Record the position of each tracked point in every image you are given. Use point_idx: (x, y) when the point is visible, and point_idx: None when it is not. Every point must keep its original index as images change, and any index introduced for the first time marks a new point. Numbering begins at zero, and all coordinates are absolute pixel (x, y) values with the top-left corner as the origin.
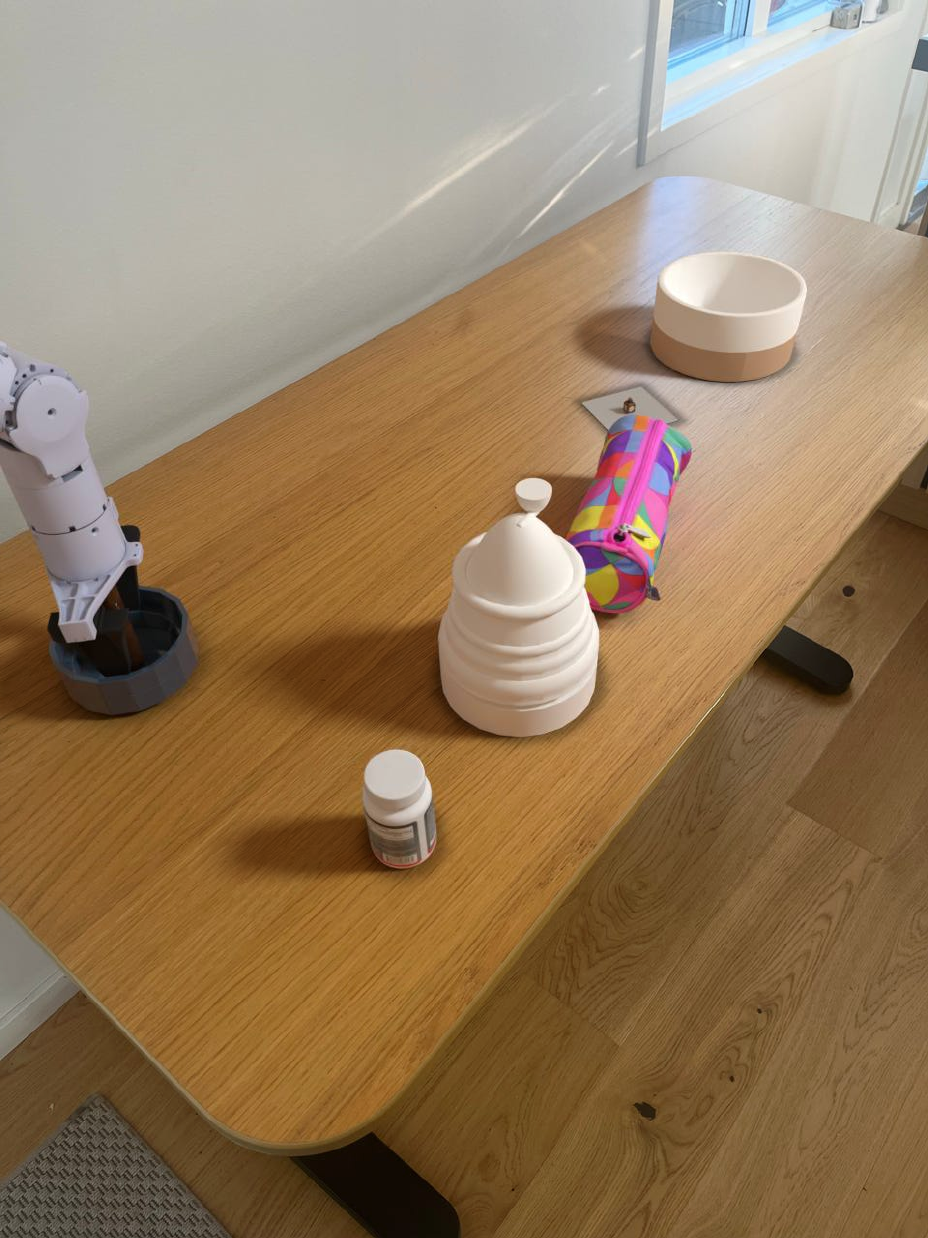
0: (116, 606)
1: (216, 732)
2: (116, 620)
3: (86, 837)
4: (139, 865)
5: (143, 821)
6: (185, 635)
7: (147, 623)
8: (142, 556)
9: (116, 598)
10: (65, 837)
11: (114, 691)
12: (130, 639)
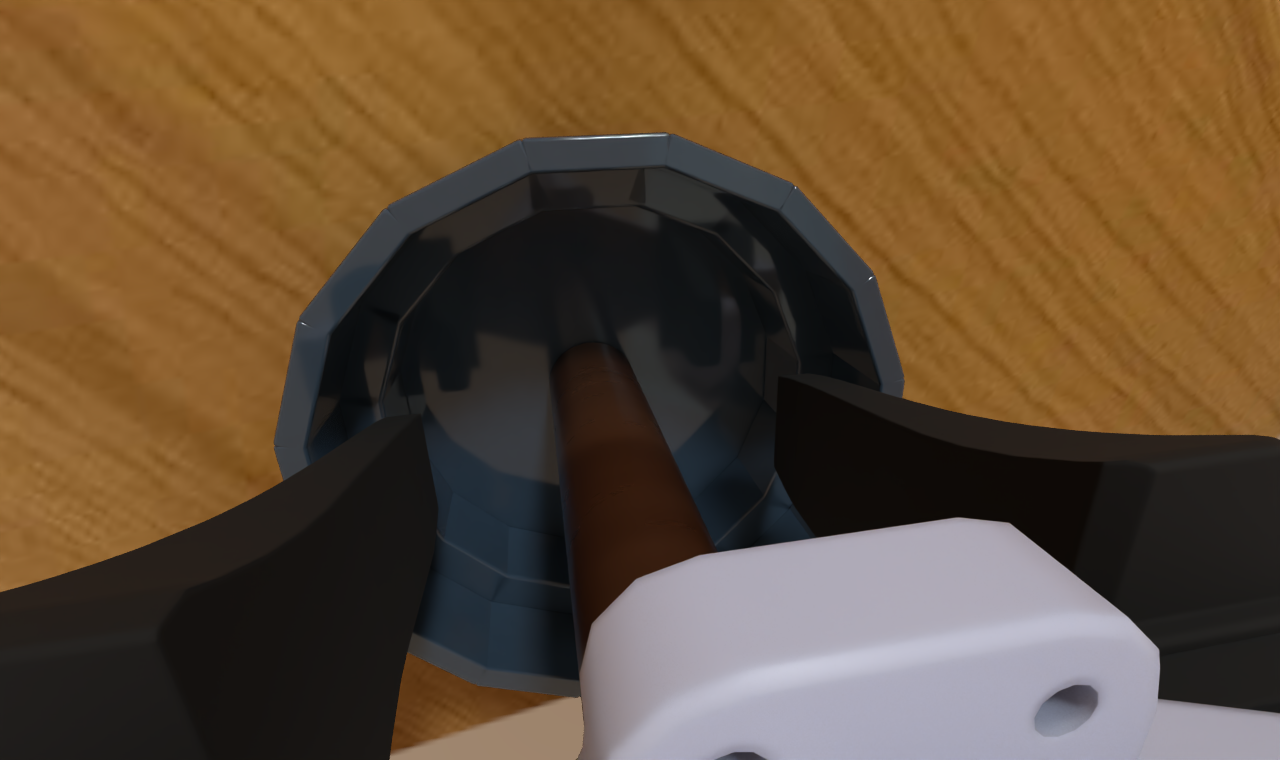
0: (702, 533)
1: (935, 38)
2: (1256, 519)
3: (1140, 376)
4: (1271, 231)
5: (1158, 242)
6: (681, 138)
7: (398, 371)
8: (890, 539)
9: (691, 557)
10: (1119, 423)
11: None
12: (645, 409)
